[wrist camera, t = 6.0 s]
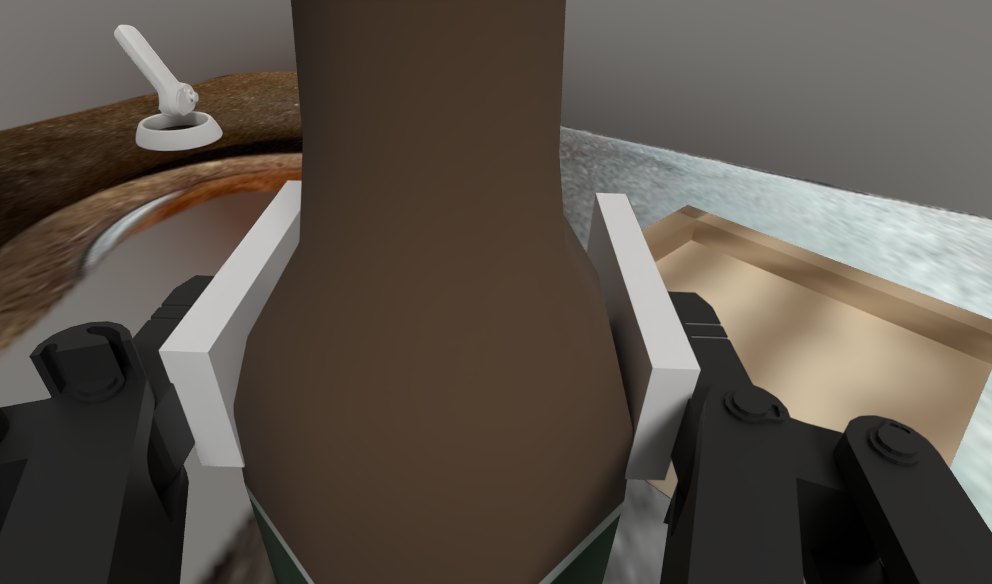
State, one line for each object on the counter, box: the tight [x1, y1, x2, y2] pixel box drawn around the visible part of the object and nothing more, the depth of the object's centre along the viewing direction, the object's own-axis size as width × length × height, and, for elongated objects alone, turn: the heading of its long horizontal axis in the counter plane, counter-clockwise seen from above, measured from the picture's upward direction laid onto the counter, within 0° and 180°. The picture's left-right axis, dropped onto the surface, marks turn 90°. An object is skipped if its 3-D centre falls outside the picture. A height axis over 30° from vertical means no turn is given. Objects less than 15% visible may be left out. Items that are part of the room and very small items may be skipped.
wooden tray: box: [641, 205, 992, 584], centre depth 29 cm, size 18×18×4 cm
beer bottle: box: [233, 0, 633, 584], centre depth 12 cm, size 8×8×24 cm
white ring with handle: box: [114, 25, 223, 151], centre depth 55 cm, size 8×12×7 cm
